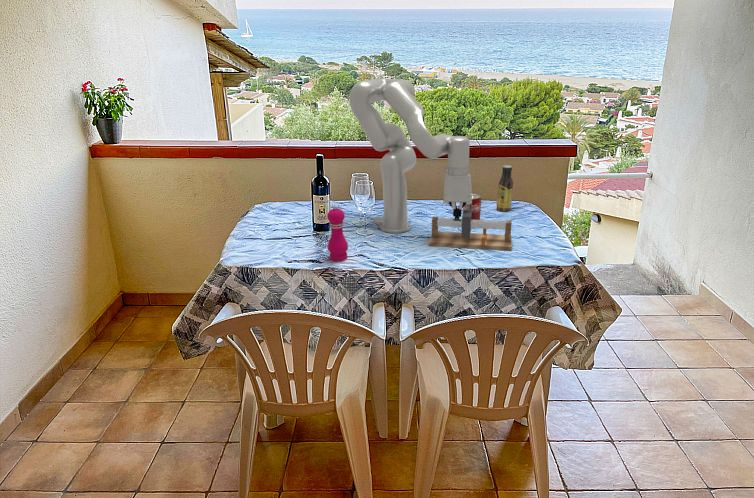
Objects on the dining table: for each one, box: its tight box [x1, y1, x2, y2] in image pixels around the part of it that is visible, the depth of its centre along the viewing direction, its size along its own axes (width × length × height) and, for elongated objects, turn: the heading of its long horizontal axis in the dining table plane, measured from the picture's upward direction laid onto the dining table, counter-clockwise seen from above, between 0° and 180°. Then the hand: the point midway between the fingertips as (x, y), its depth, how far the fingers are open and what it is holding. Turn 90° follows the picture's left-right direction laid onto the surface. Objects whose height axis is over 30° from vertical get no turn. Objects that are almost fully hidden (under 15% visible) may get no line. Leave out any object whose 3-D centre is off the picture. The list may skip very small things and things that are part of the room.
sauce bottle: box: [496, 164, 514, 212], centre depth 227 cm, size 7×6×20 cm
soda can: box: [462, 193, 482, 220], centre depth 213 cm, size 7×7×12 cm
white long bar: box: [437, 217, 506, 230], centre depth 193 cm, size 25×2×2 cm, turn 77°
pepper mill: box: [327, 204, 349, 262], centre depth 181 cm, size 7×7×20 cm
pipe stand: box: [428, 216, 513, 252], centre depth 194 cm, size 30×12×9 cm, turn 77°
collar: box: [460, 210, 472, 237], centre depth 194 cm, size 3×8×8 cm, turn 167°
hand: (457, 218), depth 197 cm, fingers closed
